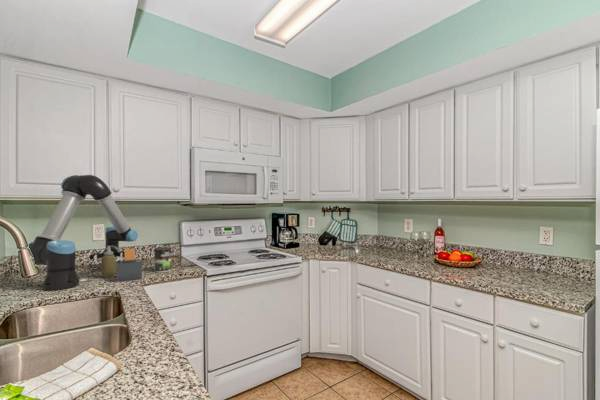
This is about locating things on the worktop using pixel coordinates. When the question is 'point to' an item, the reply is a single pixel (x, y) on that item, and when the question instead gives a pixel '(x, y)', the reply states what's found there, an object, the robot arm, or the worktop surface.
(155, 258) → the coffee can
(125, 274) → the switch box
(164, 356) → the worktop surface
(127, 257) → the breaker handle
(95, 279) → the worktop surface
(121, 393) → the worktop surface
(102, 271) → the squeeze bottle
